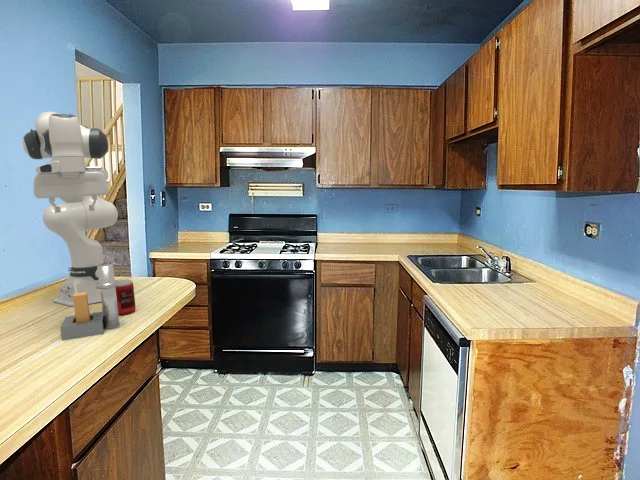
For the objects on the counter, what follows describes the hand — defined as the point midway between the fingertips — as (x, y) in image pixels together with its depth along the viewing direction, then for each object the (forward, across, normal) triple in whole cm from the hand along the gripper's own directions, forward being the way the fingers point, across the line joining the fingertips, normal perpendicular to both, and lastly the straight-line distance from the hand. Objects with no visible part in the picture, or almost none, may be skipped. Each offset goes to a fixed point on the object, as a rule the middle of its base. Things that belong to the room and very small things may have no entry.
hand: (75, 211), depth 133 cm
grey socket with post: (+37, -2, +7) cm, 38 cm away
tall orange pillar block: (+37, +1, +7) cm, 38 cm away
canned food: (+37, -10, -8) cm, 40 cm away
